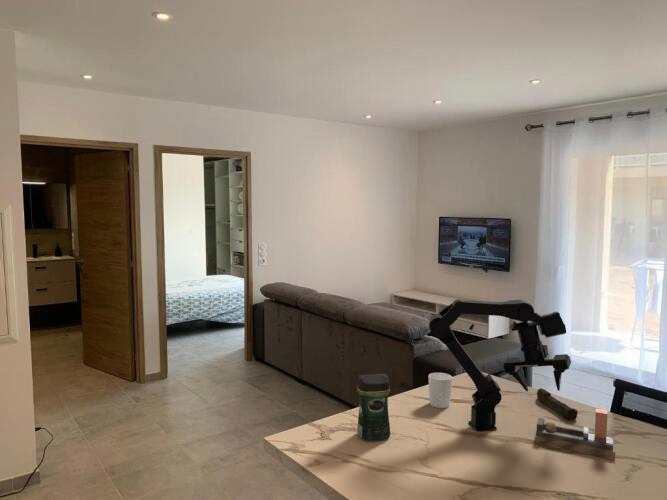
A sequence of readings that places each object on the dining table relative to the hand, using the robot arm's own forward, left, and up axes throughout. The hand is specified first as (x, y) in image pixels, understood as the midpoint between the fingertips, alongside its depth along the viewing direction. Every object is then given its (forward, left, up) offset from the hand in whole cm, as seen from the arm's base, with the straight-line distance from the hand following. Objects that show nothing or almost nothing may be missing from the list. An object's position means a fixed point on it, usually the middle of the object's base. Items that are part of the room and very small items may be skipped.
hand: (542, 390), depth 149 cm
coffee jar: (-52, +6, -13) cm, 53 cm away
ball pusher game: (+3, -10, -12) cm, 16 cm away
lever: (+8, -14, -10) cm, 19 cm away
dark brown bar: (+13, +14, -13) cm, 23 cm away
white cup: (-23, +25, -13) cm, 36 cm away
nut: (-2, -6, -10) cm, 12 cm away
